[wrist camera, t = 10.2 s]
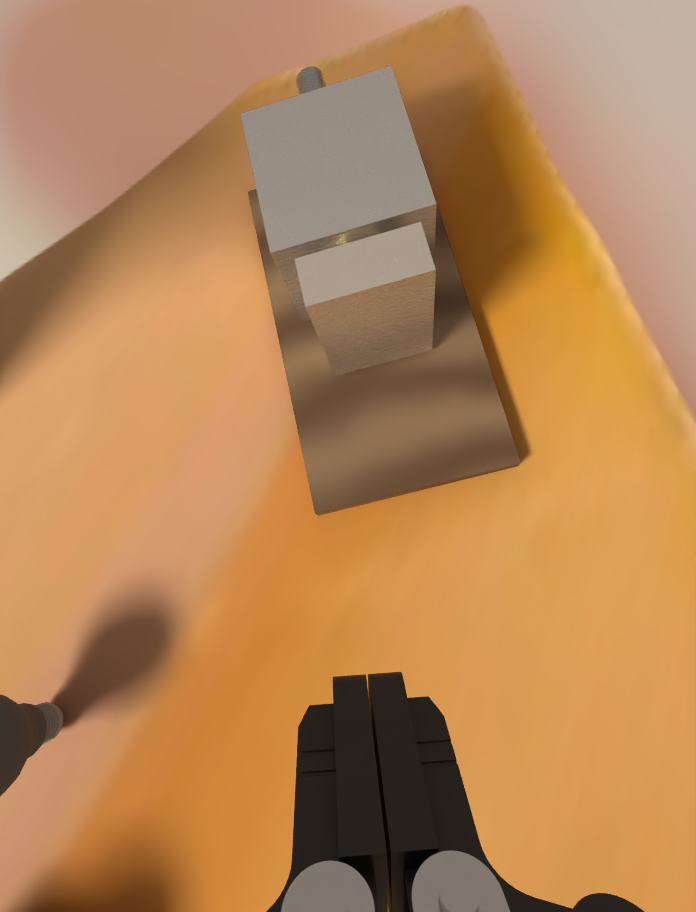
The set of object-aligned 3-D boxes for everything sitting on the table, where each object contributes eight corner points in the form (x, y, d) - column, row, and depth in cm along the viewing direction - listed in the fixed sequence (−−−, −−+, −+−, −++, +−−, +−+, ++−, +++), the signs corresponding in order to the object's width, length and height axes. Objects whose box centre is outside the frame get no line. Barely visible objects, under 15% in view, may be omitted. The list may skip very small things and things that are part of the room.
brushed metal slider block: (432, 349, 35) (435, 269, 26) (335, 376, 36) (305, 306, 26) (363, 118, 40) (346, -17, 31) (280, 144, 41) (239, 19, 32)
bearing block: (433, 284, 37) (436, 203, 29) (302, 321, 37) (270, 253, 30) (397, 167, 39) (391, 65, 32) (275, 204, 40) (240, 113, 32)
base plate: (517, 466, 34) (520, 462, 33) (318, 515, 35) (315, 513, 34) (415, 152, 41) (415, 140, 40) (252, 202, 42) (247, 191, 41)
